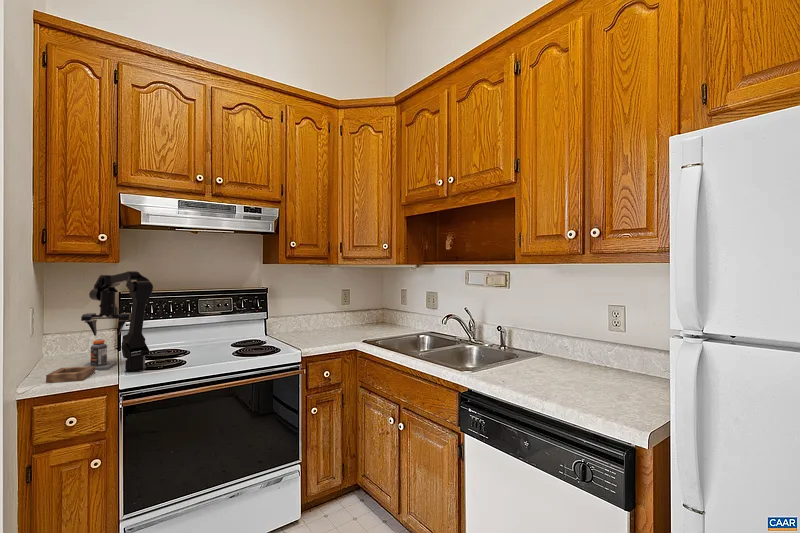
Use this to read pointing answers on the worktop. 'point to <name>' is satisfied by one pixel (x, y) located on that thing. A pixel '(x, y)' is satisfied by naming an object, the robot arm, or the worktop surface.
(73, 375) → the bottle holder
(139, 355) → the robot arm
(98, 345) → the pill bottle
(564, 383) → the worktop surface
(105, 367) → the rubber mat
